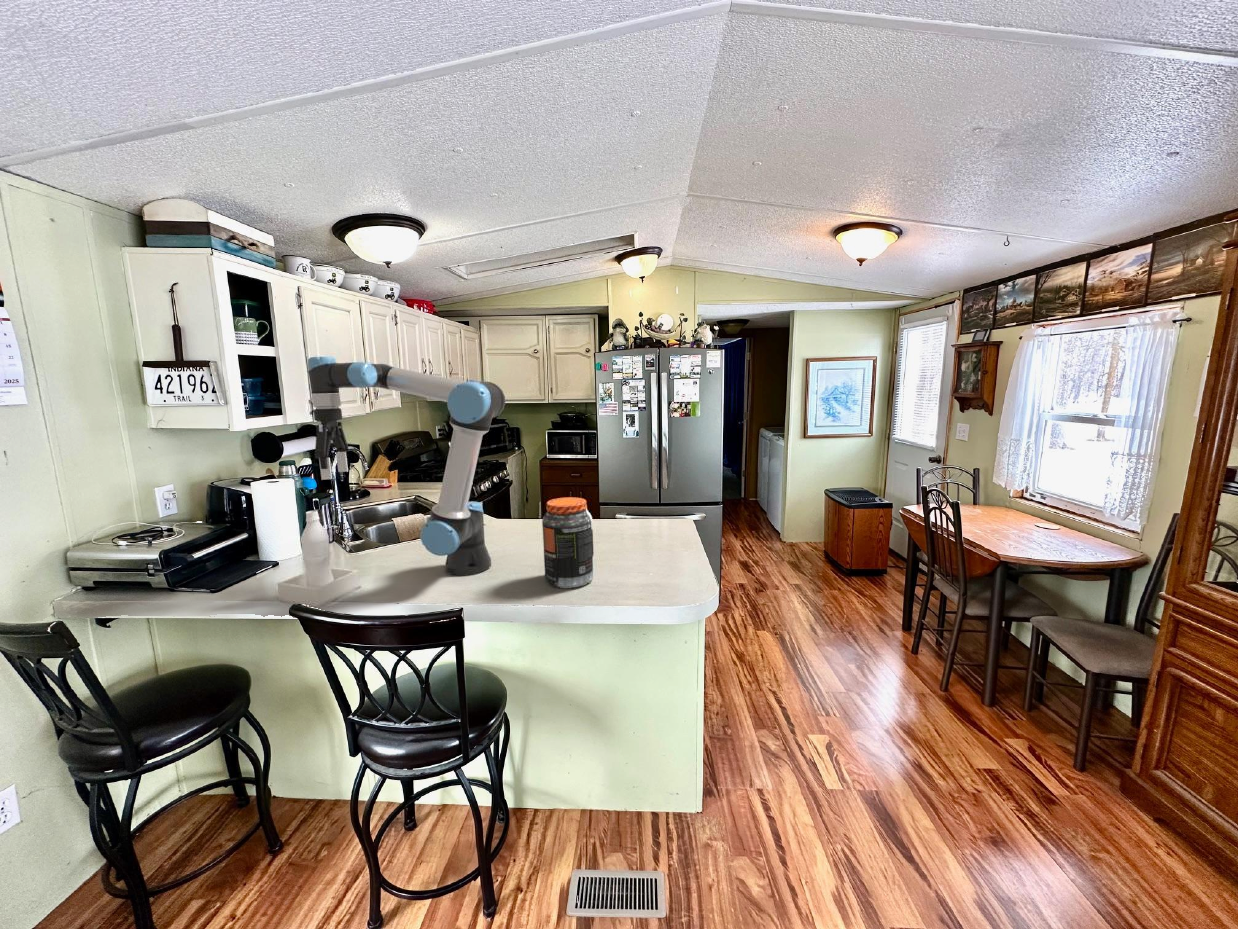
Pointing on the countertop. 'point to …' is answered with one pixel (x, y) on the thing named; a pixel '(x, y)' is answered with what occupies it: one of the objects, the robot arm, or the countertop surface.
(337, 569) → the bin
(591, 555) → the supplement tub
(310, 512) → the water bottle
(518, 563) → the countertop surface
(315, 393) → the robot arm
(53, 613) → the countertop surface
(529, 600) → the countertop surface
